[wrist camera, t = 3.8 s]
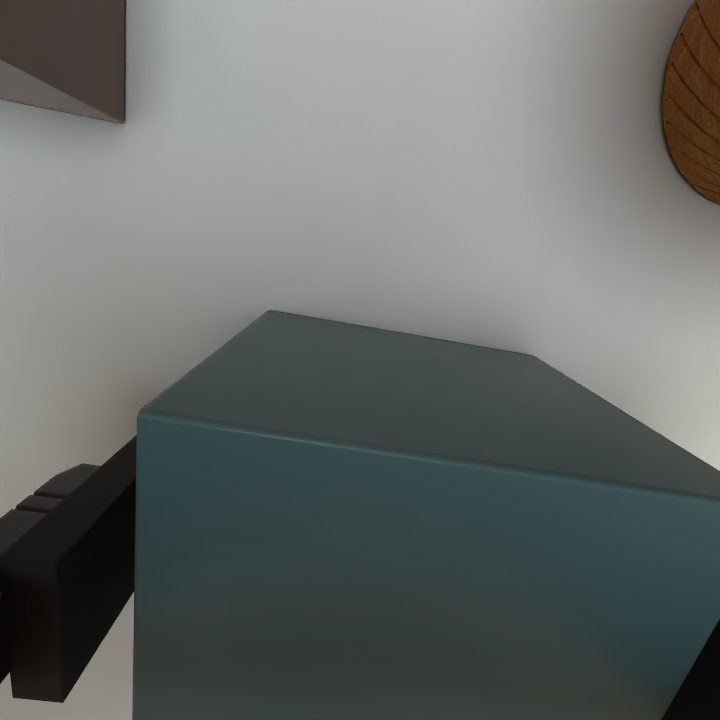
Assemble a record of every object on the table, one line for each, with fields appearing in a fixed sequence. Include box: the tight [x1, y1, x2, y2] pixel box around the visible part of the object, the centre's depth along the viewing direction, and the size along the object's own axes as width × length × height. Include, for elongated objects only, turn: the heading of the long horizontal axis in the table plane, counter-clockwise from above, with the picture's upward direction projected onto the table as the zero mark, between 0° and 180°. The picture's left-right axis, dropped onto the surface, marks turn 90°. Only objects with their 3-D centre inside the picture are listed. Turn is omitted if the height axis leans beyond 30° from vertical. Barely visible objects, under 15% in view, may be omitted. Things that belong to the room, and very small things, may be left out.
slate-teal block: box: [132, 310, 720, 720], centre depth 9 cm, size 8×8×7 cm
